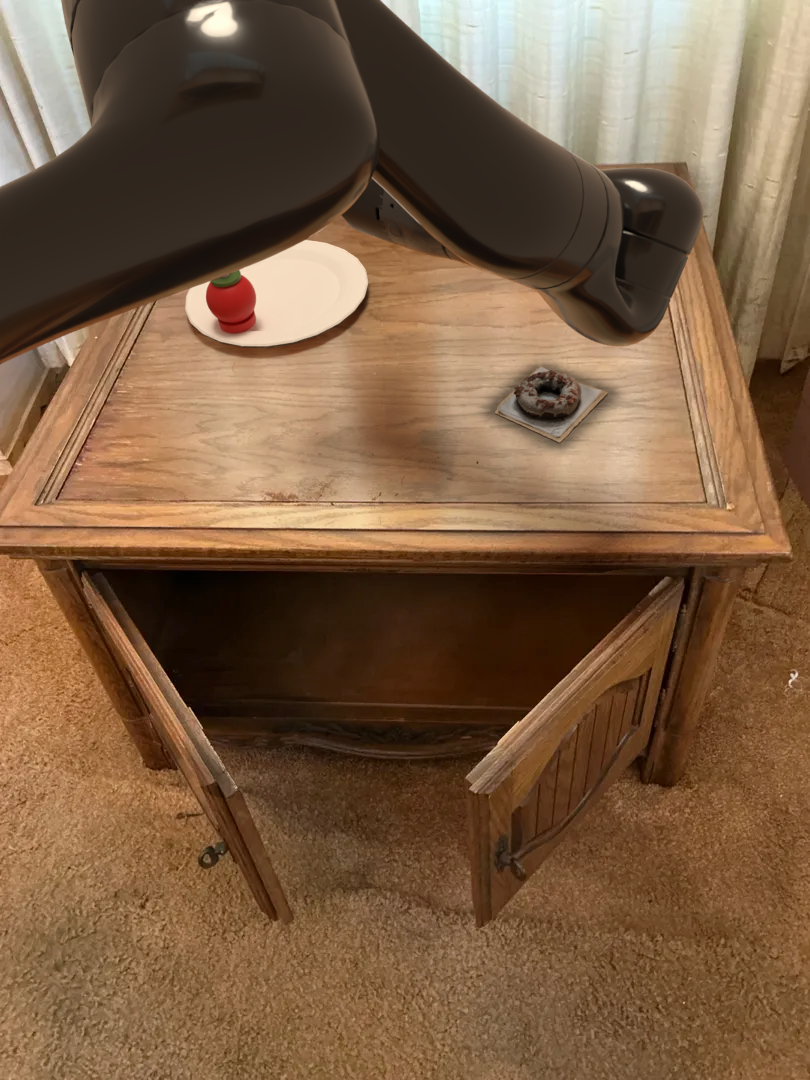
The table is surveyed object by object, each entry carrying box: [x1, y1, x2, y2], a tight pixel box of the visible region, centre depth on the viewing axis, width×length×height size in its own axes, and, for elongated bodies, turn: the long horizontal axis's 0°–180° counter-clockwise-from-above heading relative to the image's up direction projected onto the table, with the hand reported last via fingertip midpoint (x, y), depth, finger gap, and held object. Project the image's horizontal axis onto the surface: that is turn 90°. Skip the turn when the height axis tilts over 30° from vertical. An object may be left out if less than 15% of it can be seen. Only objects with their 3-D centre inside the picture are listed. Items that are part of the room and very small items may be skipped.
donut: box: [494, 365, 608, 443], centre depth 81 cm, size 8×8×2 cm
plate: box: [184, 239, 369, 349], centre depth 96 cm, size 21×21×2 cm
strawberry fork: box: [206, 270, 256, 333], centre depth 85 cm, size 5×5×16 cm
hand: (258, 143), depth 68 cm, fingers open, 8 cm apart
